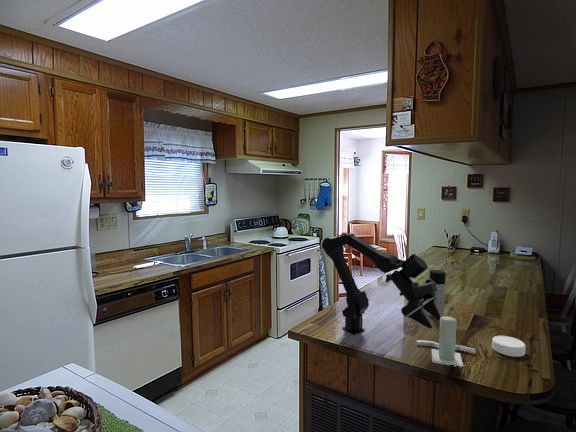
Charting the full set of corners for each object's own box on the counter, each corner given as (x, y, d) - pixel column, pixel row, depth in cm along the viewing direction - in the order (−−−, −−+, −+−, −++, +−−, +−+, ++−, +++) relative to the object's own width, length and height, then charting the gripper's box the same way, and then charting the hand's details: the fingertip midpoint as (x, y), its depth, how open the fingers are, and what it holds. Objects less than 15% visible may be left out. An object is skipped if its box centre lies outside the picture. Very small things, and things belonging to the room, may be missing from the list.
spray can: (439, 312, 159) (441, 269, 157) (446, 318, 152) (448, 273, 150) (425, 312, 159) (426, 269, 157) (431, 318, 152) (433, 273, 150)
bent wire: (416, 347, 125) (416, 342, 125) (416, 342, 128) (416, 338, 128) (475, 356, 118) (476, 351, 118) (474, 351, 122) (474, 347, 122)
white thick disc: (520, 346, 126) (520, 337, 125) (529, 359, 116) (530, 349, 116) (488, 342, 129) (489, 333, 129) (495, 354, 120) (495, 345, 119)
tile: (432, 362, 114) (432, 360, 114) (431, 350, 122) (431, 348, 122) (463, 367, 111) (463, 365, 111) (459, 354, 119) (460, 353, 119)
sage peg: (443, 361, 114) (445, 322, 112) (435, 353, 119) (437, 316, 117) (458, 360, 114) (459, 321, 113) (449, 352, 119) (450, 316, 118)
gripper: (412, 278, 113) (446, 320, 107) (431, 267, 127) (462, 304, 121) (388, 296, 119) (419, 337, 113) (409, 284, 133) (438, 320, 127)
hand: (436, 323), depth 118 cm, fingers open, 9 cm apart
